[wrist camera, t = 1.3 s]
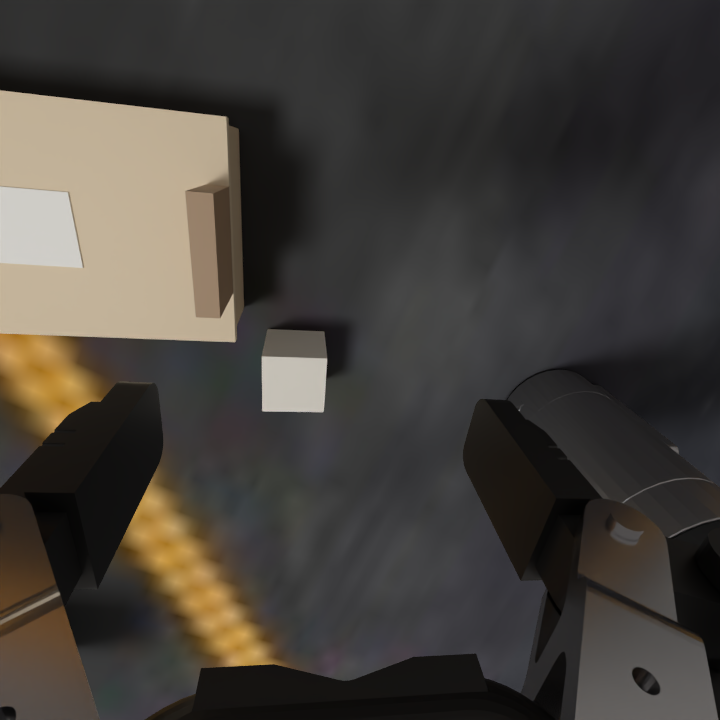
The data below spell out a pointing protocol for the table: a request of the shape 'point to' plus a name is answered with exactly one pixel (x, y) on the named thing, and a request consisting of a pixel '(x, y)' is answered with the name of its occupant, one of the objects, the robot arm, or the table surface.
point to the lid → (114, 221)
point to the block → (294, 371)
